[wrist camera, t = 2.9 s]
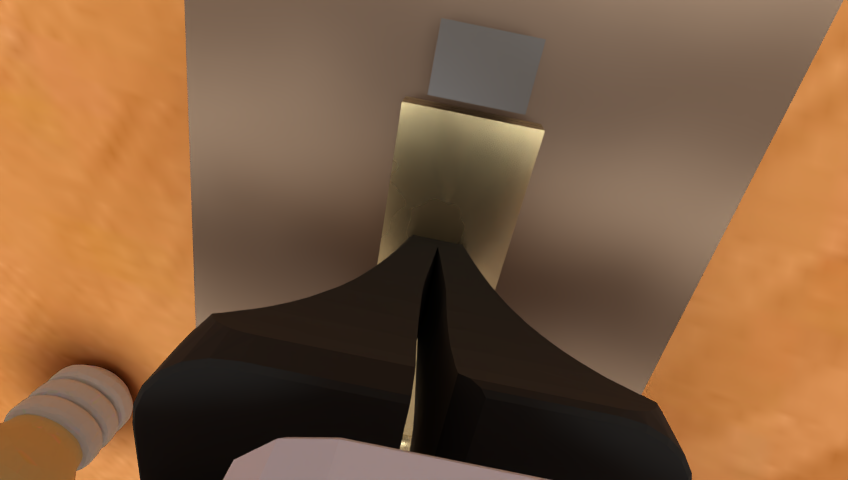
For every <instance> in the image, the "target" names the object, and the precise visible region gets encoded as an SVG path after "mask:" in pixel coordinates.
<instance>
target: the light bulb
mask: <svg viewBox="0 0 848 480" xmlns="http://www.w3.org/2000/svg"><path fill="white" fill-rule="evenodd" d="M132 410H133V401H132V398H131V395H130V392H129V390H128V387H127V386H126V385H125V383H124V382H123V381H122V380H121V379H120V378H119V377H118V376H117V375H115V374H114V373H112V372H110V371H108V370H106V369H104V368H101V367H97V366H90V365H71V366H68V367H65V368H63V369H61V370H60V371H58V372H57V373H56V374H55V375H53V376H52V377H51V378H50V379H49V380H48V382H47V383H44V384H43V385H41V386H40V387H39V388H37V389H36V390H35V391H34V392H32V393H31V394H30V396H29V397H28V398H27V399H25V400H23V401H21V402H20V403H19V404H18V405H16V406H15V407H14V408H13V409H11V410H10V411H9V413H8V414H7V415H6V417H5V420H4V422H3V423H0V480H75V476H76V471H77V470H80V469H82V468H84V467H85V466H87V465H88V464H89V463H90V462H91V461H92V460H93V459H94V458H95V457H96V456H97V454H98V453H99V451H100V449H101V448H103V447H104V446H105V445H106V444H107V443H108V442H109V441H110V440H111V439H112V438H113V436H114V435H115V433H116V432H117V431H118V430H120V429H121V427H122V426H123V425H124V424H125V423H126V422H127V421H128V420H129V418H130V417H131V414H132Z"/></svg>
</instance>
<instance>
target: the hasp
mask: <svg viewBox="0 0 848 480" xmlns="http://www.w3.org/2000/svg"><path fill="white" fill-rule="evenodd" d="M544 132H545V130H544V128H543V126H542V125H541V124H539V123H535V122H530V121H525V120H520V119H515V118H510V117H505V116H500V115H496V114H491V113H486V112H481V111H476V110H471V109H466V108H461V107H457V106H452V105H447V104H442V103H437V102H432V101H427V100H422V99H418V98H413V97H408V96H406V97H405V98H404V99H403V101H402V104H401V111H400V118H399V124H398V131H397V138H396V144H395V151H394V157H393V164H392V171H391V177H390V184H389V190H388V197H387V204H386V210H385V217H384V224H383V230H382V237H381V243H380V250H379V257H378V263H377V265H378V264H379V263H380V262H382V261H383V260H384V259H386V258H387V257H388V256H389V255H391V254H392V253H393V252H394V251H395V250H396V249H398V248H399V247H400V246H401V245H402V244H403V243H404V242H405V241H406V240H407V239H408V238H409V237H411V236H412V235H416V236H421V237H426V238H431V239H436V240H441V241H445V242H451V243H456V244H461V245H463V246H464V248H465V249H466V251H467V252H468V254H469V255H470V257H471V259H472V260H473V262H474V263H475V265H476V266H477V268H478V269H479V271H480V272H481V273H482V275H483V276H484V277H485V279H486V280H487V281H488V283H489V284H490V285H491V286H492V288H493V289H494V290H495V289H496V286H497V282H498V279H499V276H500V273H501V270H502V266H503V263H504V260H505V257H506V254H507V250H508V247H509V244H510V241H511V238H512V234H513V231H514V228H515V225H516V222H517V218H518V215H519V212H520V209H521V206H522V202H523V199H524V196H525V193H526V190H527V186H528V183H529V180H530V177H531V174H532V170H533V167H534V164H535V161H536V158H537V154H538V151H539V148H540V145H541V142H542V138H543V135H544ZM417 340H418V338H417ZM416 360H417V345H416ZM415 384H416V369H415V376H414V383H413V389H412V396H411V402H410V407H409V411H408V415H407V419H406V424H405V428H404V432H403V437H402V441H401V445H400V450H405V451H410V445H411V438H412V431H413V421H414V407H415Z"/></svg>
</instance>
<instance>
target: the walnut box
mask: <svg viewBox="0 0 848 480" xmlns="http://www.w3.org/2000/svg"><path fill="white" fill-rule="evenodd" d="M842 2H843V0H185V29H186V57H187V86H188V114H189V143H190V171H191V200H192V228H193V257H194V286H195V314H196V328H197V327H198V326H199V325H200V324H201V323H202V322H203V321H204V320H206V319H207V318H208V317H209V316H210V315H211V314H212V313H223V312H231V311H239V310H247V309H255V308H262V307H268V306H274V305H278V304H283V303H288V302H292V301H296V300H300V299H303V298H307V297H310V296H313V295H316V294H319V293H322V292H325V291H327V290H330V289H333V288H336V287H338V286H341V285H343V284H345V283H347V282H349V281H351V280H354V279H356V278H357V277H359V276H361V275H362V274H364V273H366V272H367V271H369V270H370V269H372V268H373V267H375V266H376V265H377V263H378V257H379V250H380V243H381V237H382V230H383V224H384V217H385V210H386V204H387V197H388V190H389V184H390V177H391V171H392V164H393V157H394V151H395V144H396V138H397V131H398V124H399V118H400V111H401V104H402V101H403V99H404V98H405V97H406V96H408V97H413V98H418V99H422V100H427V101H432V102H437V103H442V104H447V105H452V106H457V107H461V108H466V109H471V110H476V111H481V112H486V113H491V114H496V115H500V116H505V117H510V118H515V119H520V120H525V121H530V122H535V123H539V124H541V125H542V126H543V128H544V130H545V132H544V135H543V138H542V142H541V145H540V148H539V151H538V154H537V158H536V161H535V164H534V167H533V170H532V174H531V177H530V180H529V183H528V186H527V190H526V193H525V196H524V199H523V202H522V206H521V209H520V212H519V215H518V218H517V222H516V225H515V228H514V231H513V234H512V238H511V241H510V244H509V247H508V250H507V254H506V257H505V260H504V263H503V266H502V270H501V273H500V276H499V279H498V282H497V286H496V289H495V291H496V292H497V293H498V295H499V296H500V297H501V298H502V299H503V300H504V301H505V303H506V304H507V305H508V306H509V307H510V308H511V309H512V310H513V311H514V312H515V313H517V314H518V315H519V316H520V317H521V318H522V319H523V320H524V321H525V322H526V323H527V324H528V325H530V326H531V327H532V328H533V329H534V330H536V331H537V332H538V333H539V334H541V335H542V336H543V337H545V338H546V339H547V340H549V341H550V342H551V343H553V344H554V345H555V346H557V347H558V348H559V349H561V350H562V351H564V352H565V353H567V354H568V355H570V356H571V357H573V358H574V359H576V360H578V361H579V362H581V363H583V364H584V365H586V366H588V367H589V368H591V369H593V370H594V371H596V372H598V373H599V374H601V375H603V376H605V377H606V378H608V379H610V380H612V381H614V382H616V383H618V384H620V385H622V386H624V387H626V388H628V389H630V390H632V391H634V392H636V393H638V394H640V395H641V394H642V392H643V390H644V388H645V386H646V384H647V382H648V380H649V378H650V376H651V375H652V373H653V371H654V369H655V367H656V365H657V363H658V361H659V359H660V357H661V355H662V353H663V351H664V349H665V347H666V345H667V343H668V341H669V339H670V337H671V336H672V334H673V332H674V330H675V328H676V326H677V324H678V322H679V320H680V318H681V316H682V314H683V312H684V310H685V308H686V306H687V304H688V302H689V300H690V298H691V296H692V295H693V293H694V291H695V289H696V287H697V285H698V283H699V281H700V279H701V277H702V275H703V273H704V271H705V269H706V267H707V265H708V263H709V261H710V259H711V257H712V256H713V254H714V252H715V250H716V248H717V246H718V244H719V242H720V240H721V238H722V236H723V234H724V232H725V230H726V228H727V226H728V224H729V222H730V220H731V218H732V216H733V215H734V213H735V211H736V209H737V207H738V205H739V203H740V201H741V199H742V197H743V195H744V193H745V191H746V189H747V187H748V185H749V183H750V181H751V179H752V177H753V176H754V174H755V172H756V170H757V168H758V166H759V164H760V162H761V160H762V158H763V156H764V154H765V152H766V150H767V148H768V146H769V144H770V142H771V140H772V138H773V136H774V135H775V133H776V131H777V129H778V127H779V125H780V123H781V121H782V119H783V117H784V115H785V113H786V111H787V109H788V107H789V105H790V103H791V101H792V99H793V97H794V96H795V94H796V92H797V90H798V88H799V86H800V84H801V82H802V80H803V78H804V76H805V74H806V72H807V70H808V68H809V66H810V64H811V62H812V60H813V58H814V56H815V55H816V53H817V51H818V49H819V47H820V45H821V43H822V41H823V39H824V37H825V35H826V33H827V31H828V29H829V27H830V25H831V23H832V21H833V19H834V17H835V16H836V14H837V12H838V10H839V8H840V6H841V4H842Z"/></svg>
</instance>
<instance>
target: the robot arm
mask: <svg viewBox="0 0 848 480" xmlns="http://www.w3.org/2000/svg"><path fill="white" fill-rule="evenodd" d="M417 338H418V340H417ZM416 345H417V360H416ZM415 369H416V384H415V407H414V421H413V431H412V438H411V445H410V451H405V450H400V445H401V441H402V437H403V432H404V428H405V424H406V419H407V415H408V411H409V407H410V402H411V396H412V389H413V383H414V376H415ZM133 430H134V438H135V445H136V452H137V460H138V467H139V474H140V480H691V479H692V473H691V470H690V467H689V465H688V462H687V460H686V457H685V454H684V453H683V451H682V449H681V447H680V445H679V443H678V441H677V439H676V437H675V435H674V433H673V432H672V430H671V428H670V426H669V424H668V422H667V420H666V418H665V416H664V415H663V413H662V411H661V409H660V408H659V406H658V404H657V403H656V402H654V401H652V400H650V399H648V398H646V397H644V396H642V395H640V394H638V393H636V392H634V391H632V390H630V389H628V388H626V387H624V386H622V385H620V384H618V383H616V382H614V381H612V380H610V379H608V378H606V377H605V376H603V375H601V374H599V373H598V372H596V371H594V370H593V369H591V368H589V367H588V366H586V365H584V364H583V363H581V362H579V361H578V360H576V359H574V358H573V357H571V356H570V355H568V354H567V353H565V352H564V351H562V350H561V349H559V348H558V347H557V346H555V345H554V344H553V343H551V342H550V341H549V340H547V339H546V338H545V337H543V336H542V335H541V334H539V333H538V332H537V331H536V330H534V329H533V328H532V327H531V326H530V325H528V324H527V323H526V322H525V321H524V320H523V319H522V318H521V317H520V316H519V315H518V314H517V313H515V312H514V311H513V310H512V309H511V308H510V307H509V306H508V305H507V304H506V303H505V301H504V300H503V299H502V298H501V297H500V296H499V295H498V293H497V292H496V291H495V290H494V289H493V288H492V286H491V285H490V284H489V283H488V281H487V280H486V279H485V277H484V276H483V275H482V273H481V272H480V271H479V269H478V268H477V266H476V265H475V263H474V262H473V260H472V259H471V257H470V255H469V254H468V252H467V251H466V249H465V248H464V246H463V245H461V244H456V243H451V242H445V241H441V240H436V239H431V238H426V237H421V236H416V235H412V236H411V237H409V238H408V239H407V240H406V241H405V242H404V243H403V244H402V245H401V246H400V247H399V248H398V249H396V250H395V251H394V252H393V253H392V254H391V255H389V256H388V257H387V258H386V259H384V260H383V261H382V262H380V263H379V264H378V265H376V266H375V267H373V268H372V269H370V270H369V271H367V272H366V273H364V274H362V275H361V276H359V277H357V278H356V279H354V280H351V281H349V282H347V283H345V284H343V285H341V286H338V287H336V288H333V289H330V290H327V291H325V292H322V293H319V294H316V295H313V296H310V297H307V298H303V299H300V300H296V301H292V302H288V303H283V304H278V305H274V306H268V307H262V308H255V309H247V310H239V311H231V312H223V313H212V314H211V315H210V316H209V317H208V318H207V319H206V320H204V321H203V322H202V323H201V324H200V325H199V326H198V327H197V328H196V329H194V330H193V331H192V332H191V333H190V334H189V335H188V336H187V337H186V338H185V339H184V340H183V341H182V342H181V343H180V344H179V345H178V347H177V348H176V349H175V350H174V351H173V352H172V353H171V354H170V355H169V356H168V358H167V359H166V360H165V361H164V362H163V363H162V364H161V365H160V366H159V367H158V369H157V370H156V371H155V372H154V373H153V374H152V375H151V376H150V377H149V378H148V380H147V381H146V382H145V383H144V384H143V385H142V387H141V389H140V391H139V393H138V395H137V397H136V399H135V401H134V403H133Z"/></svg>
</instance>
